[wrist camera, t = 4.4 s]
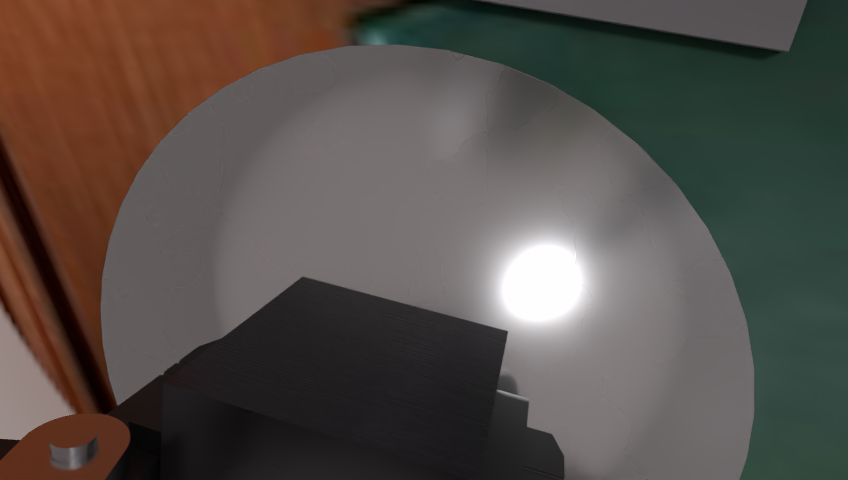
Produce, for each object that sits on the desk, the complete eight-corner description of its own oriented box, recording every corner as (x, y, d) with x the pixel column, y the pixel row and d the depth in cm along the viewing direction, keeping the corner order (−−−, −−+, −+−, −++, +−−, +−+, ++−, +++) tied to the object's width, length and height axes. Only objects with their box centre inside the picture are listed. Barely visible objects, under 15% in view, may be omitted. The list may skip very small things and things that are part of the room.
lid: (137, -6, 11) (-180, -72, 6) (858, 126, 9) (1201, 180, 4) (130, 512, 15) (-66, 708, 10) (621, 689, 13) (658, 1042, 8)
